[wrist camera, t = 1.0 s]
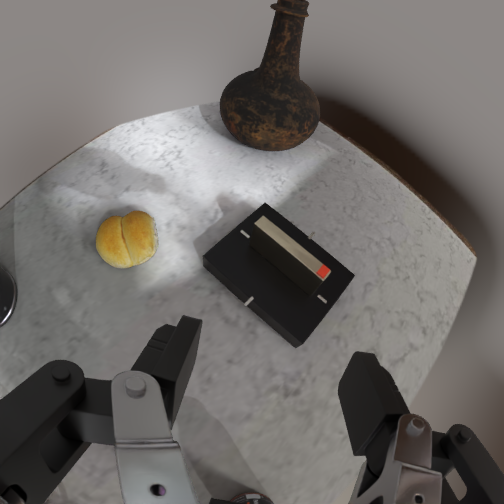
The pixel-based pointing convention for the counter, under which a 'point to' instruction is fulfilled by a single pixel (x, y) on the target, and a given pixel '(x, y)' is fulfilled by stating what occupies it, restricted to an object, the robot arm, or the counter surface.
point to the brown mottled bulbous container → (274, 89)
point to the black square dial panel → (275, 279)
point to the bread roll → (127, 239)
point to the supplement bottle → (252, 498)
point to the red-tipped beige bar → (288, 256)
